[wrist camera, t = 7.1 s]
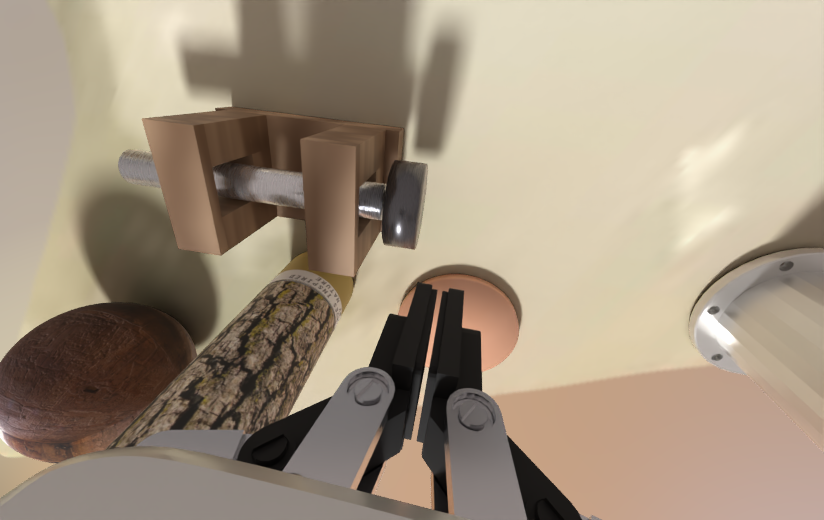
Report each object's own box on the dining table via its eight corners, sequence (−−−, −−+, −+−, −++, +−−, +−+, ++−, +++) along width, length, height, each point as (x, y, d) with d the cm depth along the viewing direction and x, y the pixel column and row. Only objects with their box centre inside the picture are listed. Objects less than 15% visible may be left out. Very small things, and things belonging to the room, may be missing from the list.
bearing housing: (403, 128, 25) (374, 148, 17) (396, 224, 29) (369, 279, 21) (231, 106, 26) (125, 116, 18) (246, 202, 30) (164, 246, 22)
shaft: (430, 156, 23) (420, 175, 18) (421, 230, 25) (410, 264, 20) (156, 120, 24) (78, 129, 19) (175, 193, 27) (111, 217, 22)
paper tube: (297, 237, 31) (-106, 603, 9) (363, 264, 31) (132, 677, 9) (285, 291, 34) (-30, 654, 12) (345, 314, 35) (143, 708, 13)
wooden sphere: (85, 270, 37) (-124, 372, 24) (205, 281, 35) (51, 397, 22) (137, 366, 44) (-1, 485, 31) (239, 379, 42) (139, 510, 29)
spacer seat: (532, 285, 30) (534, 291, 29) (501, 376, 36) (502, 383, 35) (403, 264, 31) (401, 270, 30) (394, 357, 36) (392, 363, 36)
